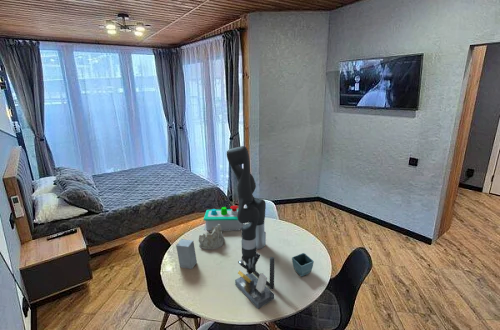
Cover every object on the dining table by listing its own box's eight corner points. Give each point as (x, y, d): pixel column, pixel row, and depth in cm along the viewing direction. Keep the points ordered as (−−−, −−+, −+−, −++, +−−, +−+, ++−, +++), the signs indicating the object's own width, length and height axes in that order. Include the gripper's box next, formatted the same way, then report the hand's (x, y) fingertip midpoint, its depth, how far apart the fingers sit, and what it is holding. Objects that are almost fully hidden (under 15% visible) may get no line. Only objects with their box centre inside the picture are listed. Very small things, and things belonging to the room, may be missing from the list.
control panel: (205, 202, 201) (244, 201, 201) (206, 221, 206) (245, 221, 206) (201, 211, 187) (244, 211, 187) (203, 232, 192) (244, 231, 192)
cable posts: (254, 269, 153) (253, 242, 148) (275, 288, 139) (275, 258, 133) (250, 270, 152) (250, 243, 146) (271, 290, 138) (271, 260, 132)
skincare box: (197, 262, 159) (195, 239, 155) (191, 270, 153) (188, 246, 148) (184, 260, 162) (182, 237, 157) (178, 267, 155) (175, 244, 151)
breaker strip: (250, 276, 147) (250, 268, 146) (274, 299, 132) (274, 290, 130) (235, 284, 142) (235, 276, 140) (258, 308, 126) (258, 300, 125)
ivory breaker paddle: (258, 287, 134) (262, 273, 133) (263, 292, 131) (267, 277, 130) (255, 288, 133) (259, 273, 132) (260, 293, 130) (265, 278, 129)
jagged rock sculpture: (226, 236, 185) (224, 217, 181) (219, 251, 170) (216, 231, 166) (206, 235, 189) (202, 217, 184) (196, 250, 174) (193, 230, 169)
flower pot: (300, 280, 144) (301, 266, 141) (291, 270, 151) (291, 257, 149) (313, 274, 148) (314, 261, 145) (303, 265, 155) (304, 252, 153)
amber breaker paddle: (247, 276, 141) (239, 270, 136) (252, 281, 138) (244, 274, 133) (245, 279, 140) (237, 273, 136) (250, 283, 137) (242, 277, 133)
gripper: (255, 236, 140) (255, 264, 145) (233, 245, 133) (235, 274, 138) (264, 243, 134) (264, 271, 139) (242, 253, 127) (243, 282, 132)
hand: (249, 273), depth 139 cm, fingers closed
